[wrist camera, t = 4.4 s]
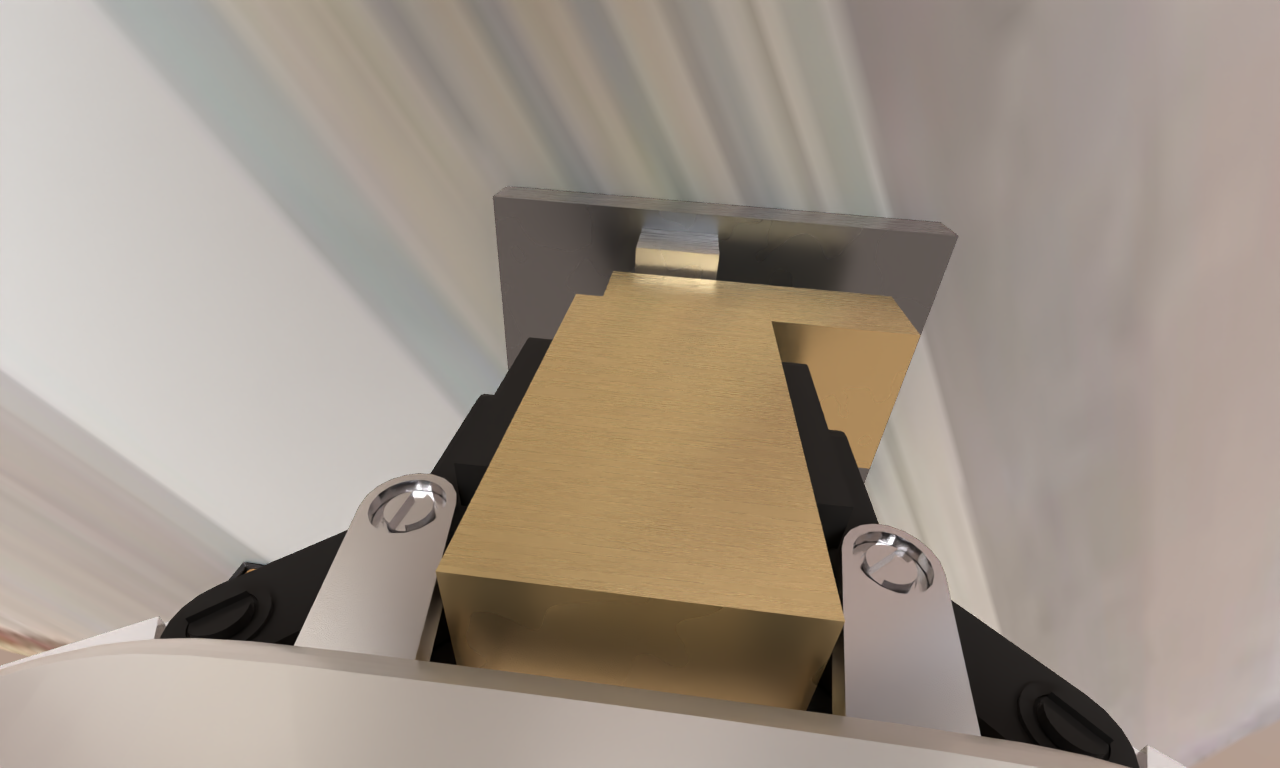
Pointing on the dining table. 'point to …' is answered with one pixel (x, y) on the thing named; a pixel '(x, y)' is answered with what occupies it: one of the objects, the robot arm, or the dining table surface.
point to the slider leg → (672, 492)
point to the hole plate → (749, 255)
